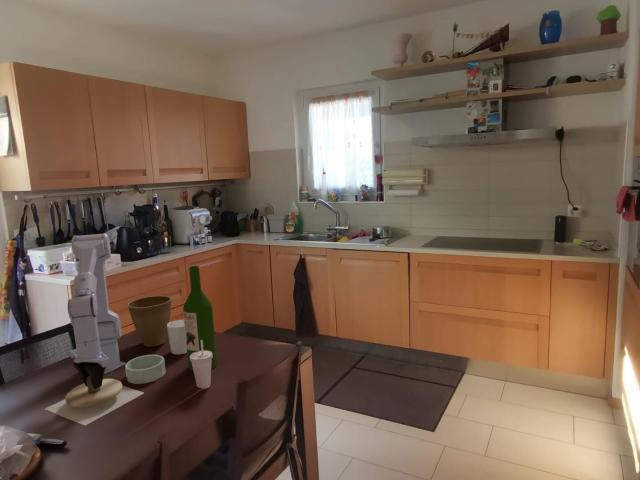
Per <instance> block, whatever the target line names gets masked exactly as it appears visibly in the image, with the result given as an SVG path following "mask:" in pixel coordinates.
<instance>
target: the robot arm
mask: <svg viewBox="0 0 640 480" xmlns="http://www.w3.org/2000/svg"><path fill="white" fill-rule="evenodd" d="M71 249H72V254H73V255H74V256H75V258H77V259H78V269H79V270H78V272H79V273H78V274H76V275H75V277H74V278H73V279H74V280H73V285H72V287H73V288H72V294H71V298H70V299H68V300H67V314H68V318H69V320H70V324H71V326H72V327H73V333H74V341H75V342H74V343H75V349H72V350H70V353H69V354H70V358H71V359H73V362H74V363H73V365H72V366H73V367H74V368H75V369H76V370H77V372H78V373H79V375H80V377H81V379H82V381H83V384H85V386H87V379H86V378H87V377H88V376H90V379H91V383H92V386H93V388H94V389H97V388H99V387H101V386H102V381H103V379H104V374H108V373H110V372H112V371H114V370H117V369H118V368H120V367H121V368H122V367H123V366H125V365H126V364H127V363H126V362H125V361H121V357H120V351H119V344H118V340H120V338H121V337H122V324H121V320H120V316H119V314H118V313H116V312H114V311H112V310H110V306H109V305H110V303H109V298H108V297H109V296H108V288H107V287H108V286H107V277H106V267H105V264H106V260H108V259H110V258H111V255H112V253H111V252H112V251H111V241H110V237H109V235H108V234H107V233H106V232H104V233H98V234H86V235H84V234H83V235H73V237H72V238H71Z"/></svg>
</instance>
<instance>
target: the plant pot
mask: <svg viewBox="0 0 640 480" xmlns="http://www.w3.org/2000/svg"><path fill="white" fill-rule="evenodd" d="M127 308H128V311H129V315H130V317H131V320H132V324H133V326H134V329H135V330H136V334H137V335H138V337H139V339H140V341H141V342H142V344H143V346H145V347H148V348H149V347H151V348H152V347H157V346H161V345H162V344H163V345H164V343H165V342H166V340H167V337H168V330H167V324H168V323H170V322H171V312H172V297H171V296H168V295H151V296H145V297H141V298H137V299H134V300H132V301H130V302H128V303H127Z"/></svg>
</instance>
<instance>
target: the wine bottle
mask: <svg viewBox="0 0 640 480" xmlns="http://www.w3.org/2000/svg"><path fill="white" fill-rule="evenodd" d="M188 270H189V271H188V272H189V282H190V283H189V284H190V292H189V294H188V296H187V298H186V300H185V302H184V304H183V310H182V312H183V313H182V314H183V320H184V325H185V335H186V345H187V353H186V354H187V356H186V357H187V364H188V369H189V371H191V372H194V371H193V366H192V362H191V361H190V355H191V354H192V353H194V352H197V351H201V340H203V351H210V352H212V356H213V357H212V358H211V370H213V369H215V368H216V367H217V365H218V359H217V358H218V357H217V356H218V355H217V347H216V346H217V344H216V336H215V335H216V334H215V332H216V331H215V324H214V322H215V321H214V313H213V312H214V311H213V305H212V301H211V300H210V299H209V298H208V297H207V295H206V294H205V293H204V291H203V290H202V285H201V275H200V266H198V265H193V266H190V267H189V268H188Z"/></svg>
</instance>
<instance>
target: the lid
mask: <svg viewBox="0 0 640 480" xmlns="http://www.w3.org/2000/svg"><path fill="white" fill-rule="evenodd" d="M86 379H87V386H85V384H84V383H82V384H79V385H77V386H75V387H74V388H72V389H71V390H70V391H68V392H67V394H65V398H64V399H66V403H67V404H68V405H70V406H73V407H87V406H93V405H97V404H100V403H103V402H106V401H108V400H110V399H112V398H114V397H115V396H117V395H118V394H119V393H120V392H121V390H122V386H123V384H122V382H121V381H120V380H118V379H114V378H103V381H102V386H101V387H99V388H97V389H94V388H93V386H92V383H91V379H90V376H88V377H87V378H86Z"/></svg>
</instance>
